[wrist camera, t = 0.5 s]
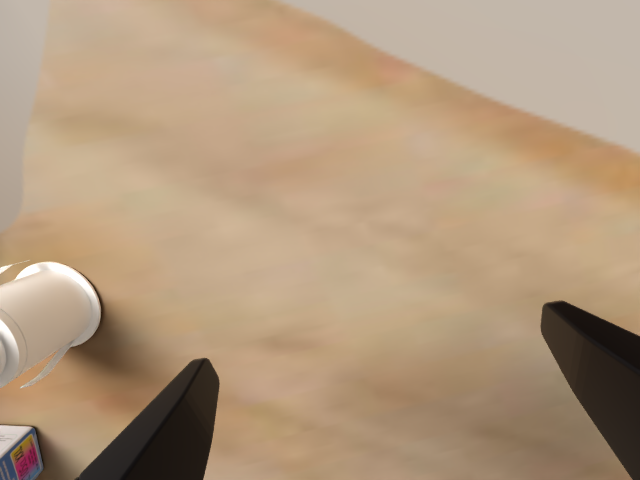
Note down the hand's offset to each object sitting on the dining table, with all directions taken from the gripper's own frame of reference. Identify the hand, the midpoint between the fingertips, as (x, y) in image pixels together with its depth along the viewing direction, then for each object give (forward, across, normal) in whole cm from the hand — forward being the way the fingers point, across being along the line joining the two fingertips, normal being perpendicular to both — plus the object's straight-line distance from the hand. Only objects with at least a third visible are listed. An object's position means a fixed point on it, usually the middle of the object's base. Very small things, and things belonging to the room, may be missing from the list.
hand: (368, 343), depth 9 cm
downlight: (+14, +24, +5) cm, 28 cm away
